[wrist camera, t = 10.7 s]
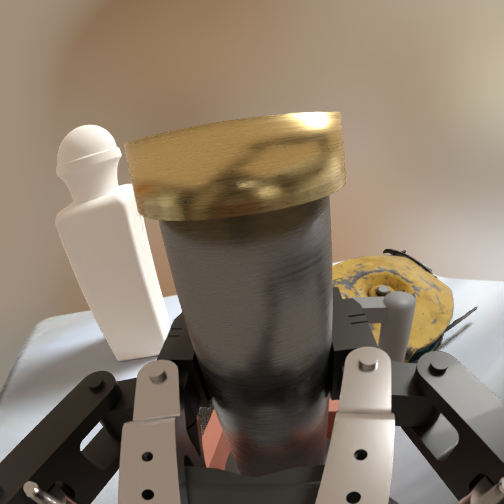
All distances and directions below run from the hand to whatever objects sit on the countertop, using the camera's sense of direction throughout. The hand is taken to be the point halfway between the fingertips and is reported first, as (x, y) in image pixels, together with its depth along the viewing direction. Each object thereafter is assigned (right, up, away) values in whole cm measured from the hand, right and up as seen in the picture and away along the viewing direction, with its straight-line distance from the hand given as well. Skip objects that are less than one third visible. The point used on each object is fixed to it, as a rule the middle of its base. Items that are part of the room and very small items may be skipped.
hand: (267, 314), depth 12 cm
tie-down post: (+1, -9, +1) cm, 9 cm away
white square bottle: (-12, -7, +19) cm, 23 cm away
